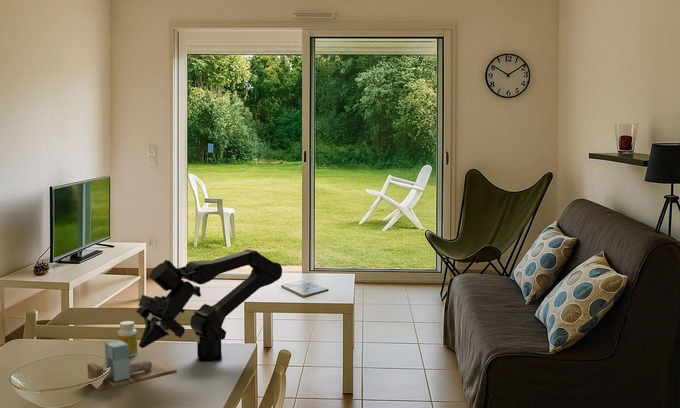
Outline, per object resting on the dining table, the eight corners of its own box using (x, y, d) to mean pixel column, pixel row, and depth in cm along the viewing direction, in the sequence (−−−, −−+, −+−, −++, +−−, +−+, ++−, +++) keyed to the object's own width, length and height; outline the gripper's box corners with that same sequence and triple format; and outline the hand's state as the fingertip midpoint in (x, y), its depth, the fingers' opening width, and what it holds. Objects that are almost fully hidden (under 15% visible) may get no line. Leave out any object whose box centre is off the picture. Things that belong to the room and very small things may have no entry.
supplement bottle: (131, 358, 199) (130, 325, 198) (114, 356, 200) (113, 324, 199) (140, 352, 204) (139, 320, 203) (124, 351, 205) (123, 319, 204)
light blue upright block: (120, 371, 185) (119, 339, 184) (129, 378, 180) (128, 344, 179) (105, 375, 182) (104, 342, 181) (115, 381, 178) (114, 348, 177)
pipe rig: (163, 363, 194) (163, 346, 194) (176, 371, 188) (176, 353, 188) (86, 382, 180) (85, 362, 179) (98, 390, 174) (97, 371, 173)
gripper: (141, 277, 193) (105, 323, 187) (172, 289, 179) (134, 339, 173) (167, 300, 199) (133, 344, 193) (200, 313, 185) (164, 361, 179)
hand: (140, 347), depth 185 cm, fingers closed
